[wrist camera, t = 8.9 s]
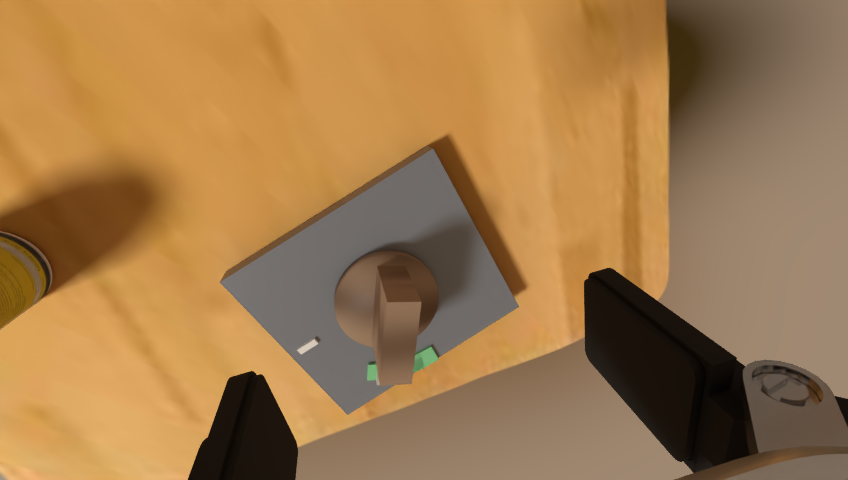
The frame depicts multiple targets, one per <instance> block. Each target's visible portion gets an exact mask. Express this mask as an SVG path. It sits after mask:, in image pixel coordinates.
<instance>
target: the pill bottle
mask: <svg viewBox="0 0 848 480" xmlns="http://www.w3.org/2000/svg"><path fill="white" fill-rule="evenodd" d="M51 284H52V270H51V266H50V264H49V262H48V260H47V258H46V257H45V256H44V254H43V253H42V252H41V251H40V250H39V249H38V248H37V247H36V246H34V245H33V244H32V243H30V242H28V241H27V240H25V239H23V238H21V237H19V236H16V235H13V234H11V233H7V232H2V231H0V329H2V328H3V327H5V326H6V325H7V324H9V323H10V322H11V321H13V320H14V319H15V318H17V317H18V316H19V315H21V314H22V313H24V312H25V311H26V310H28V309H29V308H31V307H32V306H33V305H35V304H36V303H38V302H39V301H40V300H41V299H42V298H43V297H44V296H45V295H46V294H47V292H48V291H49V289H50V287H51Z"/></svg>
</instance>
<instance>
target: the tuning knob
mask: <svg viewBox="0 0 848 480" xmlns="http://www.w3.org/2000/svg"><path fill="white" fill-rule="evenodd" d="M438 302H439V293H438V287H437V284H436V281H435V279H434V277H433V276H432V274H431V272H430V271H429V269H428V268H427V266H426V265H425V264H424V263H423V262H422V261H421V260H419V259H418V258H417V257H415V256H413V255H411V254H409V253H406V252H403V251H398V250H381V251H376V252H372V253H369V254H367V255H364V256H362V257H361V258H359V259H357V260H356V261H354V262H353V263H352V264H351V265H350V266H349V267H348V268H347V269H346V270H345V271H344V272H343V274H342V275H341V277H340V279H339V281H338V283H337V285H336V289H335V295H334V306H335V315H336V318H337V321H338V323H339V325H340V327H341V329H342V330H343V331H344V332H345V333H346V334H347V335H348V336H349V337H350V338H351V339H353V340H354V341H356V342H358V343H360V344H362V345H365V346H369V347H373V349H374V355H375V360H376V366H377V378H376V382H377V385H380V386H387V385H401V384H412V377H413V369H414V361H415V352H416V344H417V336H418V335H420V334H421V333H422V332H423V331H424V330H425V329H426V328H427V327H428V325H429V324H430V323H431V321H432V320H433V318H434V316H435V313H436V311H437V307H438Z"/></svg>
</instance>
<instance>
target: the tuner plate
mask: <svg viewBox="0 0 848 480" xmlns="http://www.w3.org/2000/svg"><path fill="white" fill-rule="evenodd" d="M381 250H398V251H403V252H406V253H409V254H411V255H413V256H415V257H417V258H418V259H419V260H421V261H422V262H423V263H424V264H425V265H426V266H427V268H428V269H429V271H430V272H431V274H432V276H433V277H434V279H435V281H436V284H437V287H438V293H439V302H438V307H437V311H436V313H435V316H434V318H433V320H432V321H431V323H430V324H429V325H428V327H427V328H426V329H425V330H424V331H423V332H422V333H421V334H420V335H418V336H417V344H416V352H415V361H414V369H413V373H415V372H417V371H419V370H421V369H423V368H425V367H426V366H428V365H430V364H431V363H433V362H435V361H437V360H439V359H438V358H439V357H440V356H442V355H443V354H445V353H446V352H448V351H450V350H451V349H453V348H454V347H456V346H458V345H459V344H461V343H462V342H464V341H465V340H467V339H469V338H470V337H472V336H473V335H475V334H477V333H478V332H480V331H481V330H483V329H484V328H486V327H488V326H489V325H491V324H492V323H494V322H496V321H497V320H499V319H500V318H502V317H503V316H505V315H507V314H508V313H510V312H511V311H513V310H515V309H516V308H518V307H519V306H518V304H517V302H516V300H515V298H514V297H513V295H512V293H511V291H510V289H509V287H508V285H507V284H506V282H505V280H504V278H503V276H502V274H501V273H500V271H499V269H498V267H497V265H496V263H495V261H494V260H493V258H492V256H491V254H490V252H489V250H488V249H487V247H486V245H485V243H484V241H483V239H482V237H481V236H480V234H479V232H478V230H477V228H476V226H475V225H474V223H473V221H472V219H471V217H470V215H469V213H468V212H467V210H466V208H465V206H464V204H463V202H462V201H461V199H460V197H459V195H458V193H457V191H456V189H455V188H454V186H453V184H452V182H451V180H450V178H449V177H448V175H447V173H446V171H445V169H444V167H443V165H442V164H441V162H440V160H439V158H438V156H437V154H436V153H435V151H434V149H433V148H431V147H429V146H428V145H427V146H426V147H424V148H422V149H421V150H419V151H418V152H416V153H414V154H413V155H411V156H410V157H408V158H406V159H405V160H403V161H402V162H400V163H399V164H397V165H395V166H394V167H392V168H391V169H389V170H387V171H386V172H384V173H383V174H381V175H379V176H378V177H376V178H375V179H373V180H371V181H370V182H368V183H367V184H365V185H363V186H362V187H360V188H359V189H357V190H355V191H354V192H352V193H351V194H349V195H347V196H346V197H344V198H343V199H341V200H339V201H338V202H336V203H335V204H333V205H331V206H330V207H328V208H327V209H325V210H323V211H322V212H320V213H319V214H317V215H315V216H314V217H312V218H311V219H309V220H307V221H306V222H304V223H303V224H301V225H299V226H298V227H296V228H295V229H293V230H292V231H290V232H288V233H287V234H285V235H284V236H282V237H280V238H279V239H277V240H276V241H274V242H272V243H271V244H269V245H268V246H266V247H264V248H263V249H261V250H260V251H258V252H256V253H255V254H253V255H252V256H250V257H248V258H247V259H245V260H244V261H242V262H240V263H239V264H237V265H236V266H234V267H232V268H231V269H229V270H228V271H226V272H225V274H224V276H223V278H222V279H221V281H220V283H221V284H222V285H223V286H224V287H225V288H226V289H227V290H228V291H229V292H230V293H231V294H232V295H233V296H234V297H235V299H236V300H237V301H238V302H239V303H240V304H241V305H242V306H243V307H244V308H245V309H246V310H247V311H248V312H249V313H250V314H251V315H252V316H253V317H254V318H255V319H256V320H257V321H258V322H259V323H260V324H261V325H262V327H263V328H264V329H265V330H266V331H267V332H268V333H269V334H270V335H271V336H272V337H273V338H274V339H275V340H276V341H277V342H278V343H279V344H280V345H281V346H282V347H283V348H284V349H285V350H286V351H287V352H288V354H289V355H290V356H291V357H292V358H293V359H294V360H295V361H296V362H297V363H298V364H299V365H300V366H301V367H302V368H303V369H304V370H305V371H306V372H307V373H308V374H309V375H310V376H311V377H312V378H313V379H314V380H315V382H316V383H317V384H318V385H319V386H320V387H321V388H322V389H323V390H324V391H325V392H326V393H327V394H328V395H329V396H330V397H331V398H332V399H333V400H334V401H335V402H336V403H337V404H338V405H339V406H340V407H341V409H342V410H343V411H344V412H345V413H346V414H347V415H348V414H350V413H351V412H353V411H355V410H356V409H358V408H359V407H361V406H363V405H364V404H366V403H367V402H369V401H370V400H372V399H374V398H375V397H377V396H378V395H380V394H382V393H383V392H385V391H386V390H388V389H389V388H391V387H393V386H394V385H387V386H380V385H377V382H376V378H377V366H376V360H375V355H374V349H373V347H369V346H365V345H362V344H360V343H358V342H356V341H354V340H353V339H351V338H350V337H349V336H348V335H347V334H346V333H345V332H344V331H343V330H342V329H341V327H340V325H339V323H338V321H337V318H336V315H335V306H334V295H335V289H336V285H337V283H338V281H339V279H340V277H341V275H342V274H343V272H344V271H345V270H346V269H347V268H348V267H349V266H350V265H351V264H352V263H353V262H354V261H356V260H357V259H359V258H361V257H362V256H364V255H367V254H369V253H372V252H376V251H381Z"/></svg>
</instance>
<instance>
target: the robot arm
mask: <svg viewBox="0 0 848 480" xmlns="http://www.w3.org/2000/svg"><path fill="white" fill-rule="evenodd" d="M584 308H585V351H586V355H587V357H588V359H589V361H590V362H591V363H592V365H593V366H594V367H595V368H596V369H597V370H598V371H599V373H600V374H601V375H602V376H603V377H604V378H605V380H606V381H607V382H608V383H609V384H610V385H611V386H612V388H613V389H614V390H615V391H616V392H617V393H618V394H619V396H620V397H621V398H622V399H623V400H624V401H625V402H626V404H627V405H628V406H629V407H630V408H631V409H632V410H633V412H634V413H635V414H636V415H637V416H638V417H639V419H640V420H641V421H642V422H643V423H644V424H645V425H646V427H647V428H648V429H649V430H650V431H651V432H652V433H653V435H654V436H655V437H656V438H657V439H658V440H659V441H660V443H661V444H662V445H663V446H664V447H665V448H666V450H667V451H668V452H669V453H670V454H671V455H672V456H673V457H674V458H675V459H676V460H677V461H680V462H682V461H684V462H685V464H686V465H687V466H688V467H689V468H690V469H691V470H692V471H693V474H690V475H687V476H684V477H681V478H678V479H675V480H848V399H845V398H841V397H836V396H834V394H833V392H832V391H831V390H830V388H829V387H828V385H827V384H826V383H824V382H823V381H822V380H821V379H820V378H819V377H817V376H816V375H814V374H812V373H811V372H809V371H807V370H805V369H803V368H800V367H798V366H795V365H793V364H789V363H785V362H780V361H773V360H761V361H755V362H752V363H750V364H748V365H747V366H746V367H745V366H744V365H743V364H741V363H740V362H738V361H737V360H736V359H737V358H736V357H735V356H733V355H732V354H730V353H729V352H727V351H726V350H725V349H724V348H722V347H721V346H719V345H718V344H717V343H715V342H714V341H712V340H711V339H709V338H708V337H707V336H705V335H704V334H703V333H701V332H700V331H699V330H697V329H696V328H694V327H693V326H692V325H690V324H689V323H687V322H686V321H685V320H683V319H682V318H680V317H679V316H678V315H676V314H675V313H673V312H672V311H671V310H669V309H668V308H666V307H665V306H664V305H662V304H661V303H659V302H658V301H657V300H655V299H654V298H653V297H651V296H650V295H648V294H647V293H646V292H644V291H643V290H641V289H640V288H639V287H637V286H636V285H634V284H633V283H632V282H630V281H629V280H627V279H626V278H625V277H623V276H622V275H620V274H619V273H618V272H616V271H615V270H613V269H611V268H606V269H603V270H599V271H596V272H592V273H590V274H589V276H588V279H586V280H585V282H584ZM297 457H298V448H297V443H296V440H295V438H294V436H293V434H292V432H291V430H290V428H289V426H288V424H287V422H286V420H285V418H284V416H283V414H282V412H281V410H280V408H279V406H278V404H277V402H276V400H275V398H274V396H273V394H272V392H271V390H270V388H269V386H268V384H267V382H266V380H265V378H264V376H263V375H262V374H260V375H256V373H255V372H253V371H250V372H247V373H244V374H240V375H237V376H233V377H231V378H229V380H228V382H227V384H226V387H225V390H224V393H223V396H222V399H221V401H220V404H219V407H218V410H217V413H216V416H215V418H214V421H213V424H212V427H211V430H210V433H209V436H208V438H206V439H205V440H204V441H203V442H202V444H201V446H200V448H199V450H198V453H197V456H196V459H195V461H194V464H193V467H192V470H191V472H190V475H189V478H188V480H295V477H296V466H297Z"/></svg>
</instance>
